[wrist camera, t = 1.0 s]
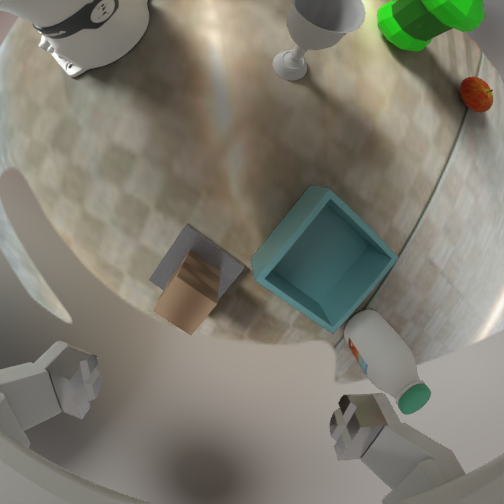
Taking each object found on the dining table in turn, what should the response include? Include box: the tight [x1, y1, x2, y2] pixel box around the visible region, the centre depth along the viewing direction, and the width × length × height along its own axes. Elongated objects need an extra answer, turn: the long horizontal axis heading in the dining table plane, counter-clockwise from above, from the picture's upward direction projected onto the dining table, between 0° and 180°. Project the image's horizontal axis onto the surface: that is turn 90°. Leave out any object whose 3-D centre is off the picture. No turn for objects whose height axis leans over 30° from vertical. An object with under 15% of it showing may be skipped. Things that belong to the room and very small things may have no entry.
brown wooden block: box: [153, 249, 221, 335], centre depth 34 cm, size 5×5×10 cm
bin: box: [251, 185, 399, 334], centre depth 37 cm, size 14×14×8 cm
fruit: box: [460, 77, 493, 112], centre depth 30 cm, size 7×7×8 cm
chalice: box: [273, 0, 365, 81], centre depth 24 cm, size 7×7×18 cm
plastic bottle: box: [377, 0, 485, 52], centre depth 18 cm, size 10×11×25 cm
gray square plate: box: [149, 224, 245, 300], centre depth 37 cm, size 10×10×6 cm
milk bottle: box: [344, 310, 431, 414], centre depth 36 cm, size 8×8×20 cm
